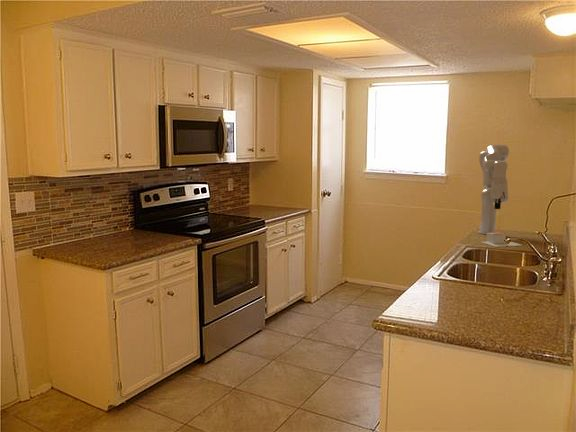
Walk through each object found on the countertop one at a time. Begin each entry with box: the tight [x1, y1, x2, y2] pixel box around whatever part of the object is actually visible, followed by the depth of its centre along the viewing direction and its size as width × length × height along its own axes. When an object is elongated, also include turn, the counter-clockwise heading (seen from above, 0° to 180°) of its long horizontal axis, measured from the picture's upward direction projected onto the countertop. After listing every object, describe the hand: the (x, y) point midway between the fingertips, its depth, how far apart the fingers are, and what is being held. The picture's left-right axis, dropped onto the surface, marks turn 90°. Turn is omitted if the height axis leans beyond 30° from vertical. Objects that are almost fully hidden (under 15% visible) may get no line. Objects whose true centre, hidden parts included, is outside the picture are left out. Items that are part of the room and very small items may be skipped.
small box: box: [486, 231, 507, 244], centre depth 318 cm, size 8×6×10 cm
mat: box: [480, 240, 524, 248], centre depth 315 cm, size 15×19×1 cm
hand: (497, 208), depth 321 cm, fingers closed
